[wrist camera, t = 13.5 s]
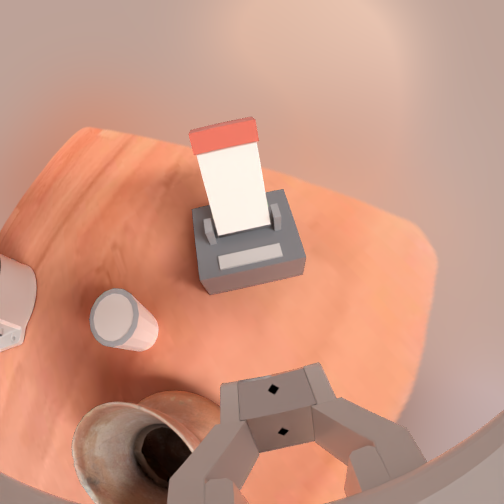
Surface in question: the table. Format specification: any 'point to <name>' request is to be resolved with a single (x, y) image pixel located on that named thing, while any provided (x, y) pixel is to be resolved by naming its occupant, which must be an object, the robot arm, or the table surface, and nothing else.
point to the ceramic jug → (139, 445)
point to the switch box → (248, 249)
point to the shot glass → (122, 321)
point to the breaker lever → (232, 175)
